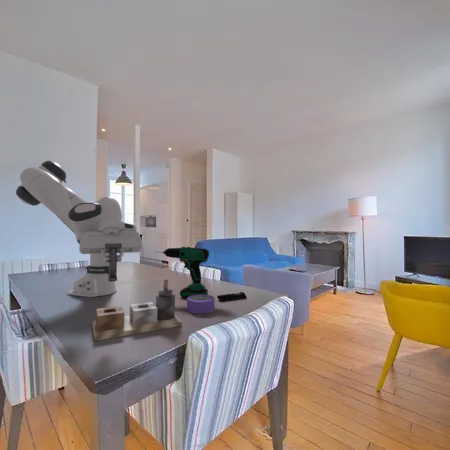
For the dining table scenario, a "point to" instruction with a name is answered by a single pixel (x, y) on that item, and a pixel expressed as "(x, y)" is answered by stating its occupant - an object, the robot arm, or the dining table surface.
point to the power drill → (190, 267)
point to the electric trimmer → (231, 296)
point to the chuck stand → (137, 317)
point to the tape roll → (200, 304)
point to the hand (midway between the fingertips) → (113, 261)
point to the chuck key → (113, 260)
